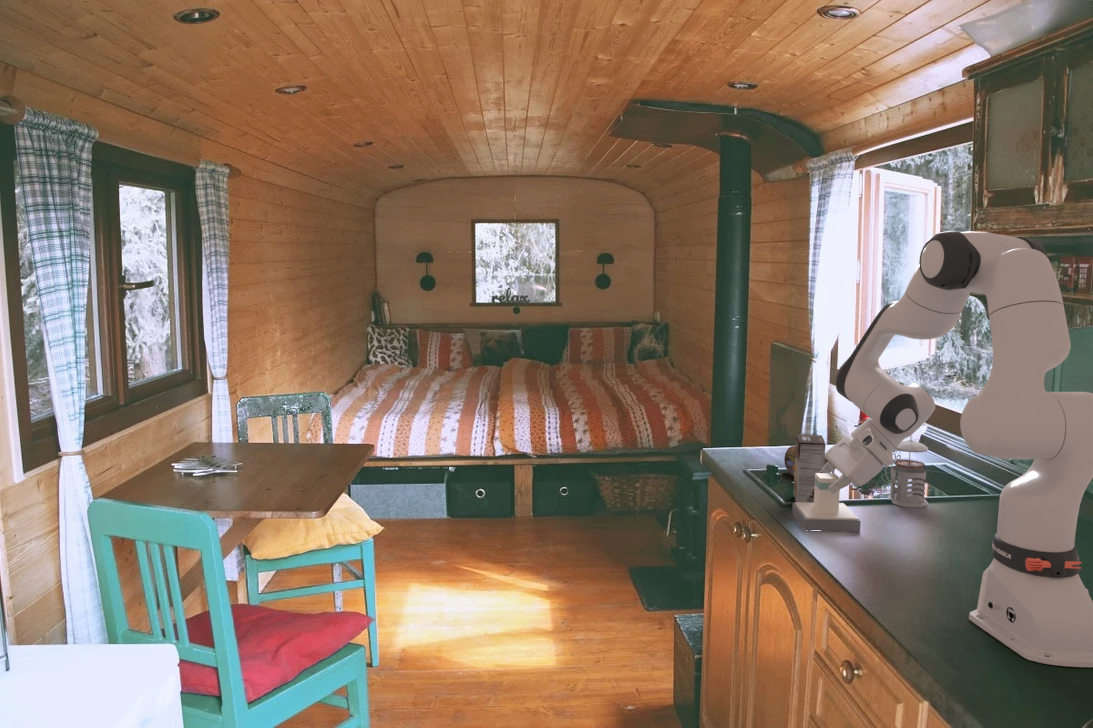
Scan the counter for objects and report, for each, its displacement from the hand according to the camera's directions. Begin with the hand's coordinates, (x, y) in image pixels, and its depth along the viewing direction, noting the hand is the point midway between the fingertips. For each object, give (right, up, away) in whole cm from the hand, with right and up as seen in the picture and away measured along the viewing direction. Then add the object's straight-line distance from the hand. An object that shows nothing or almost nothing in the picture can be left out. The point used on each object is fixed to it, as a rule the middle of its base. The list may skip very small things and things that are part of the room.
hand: (824, 484), depth 188 cm
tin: (+8, -4, +38) cm, 39 cm away
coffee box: (+2, -7, +17) cm, 18 cm away
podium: (+1, -9, +1) cm, 9 cm away
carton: (+1, -6, +1) cm, 6 cm away
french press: (+26, -7, +18) cm, 32 cm away
